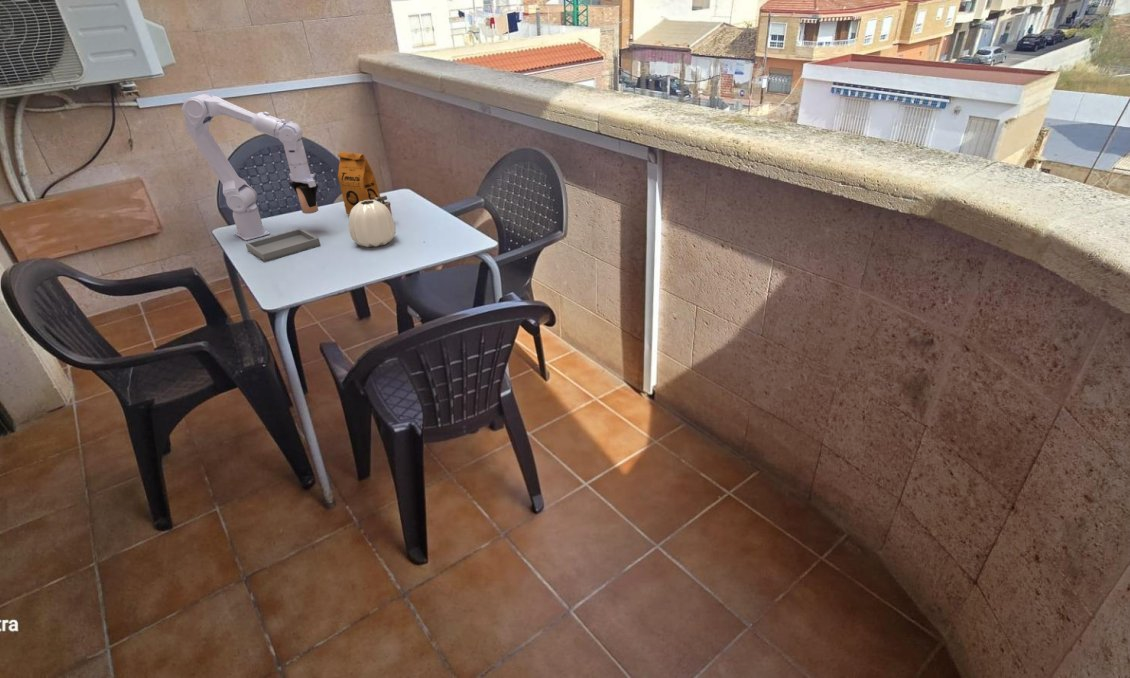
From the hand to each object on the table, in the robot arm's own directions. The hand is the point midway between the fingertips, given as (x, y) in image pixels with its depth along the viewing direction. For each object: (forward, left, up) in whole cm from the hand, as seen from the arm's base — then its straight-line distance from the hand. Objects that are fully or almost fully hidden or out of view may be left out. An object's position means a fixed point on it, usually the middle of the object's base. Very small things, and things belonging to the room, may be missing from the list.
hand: (308, 204), depth 191 cm
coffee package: (-3, +20, -10) cm, 23 cm away
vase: (+25, +8, -10) cm, 28 cm away
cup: (0, 0, -2) cm, 2 cm away
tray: (+7, -14, -9) cm, 18 cm away
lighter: (+13, +18, -10) cm, 24 cm away
